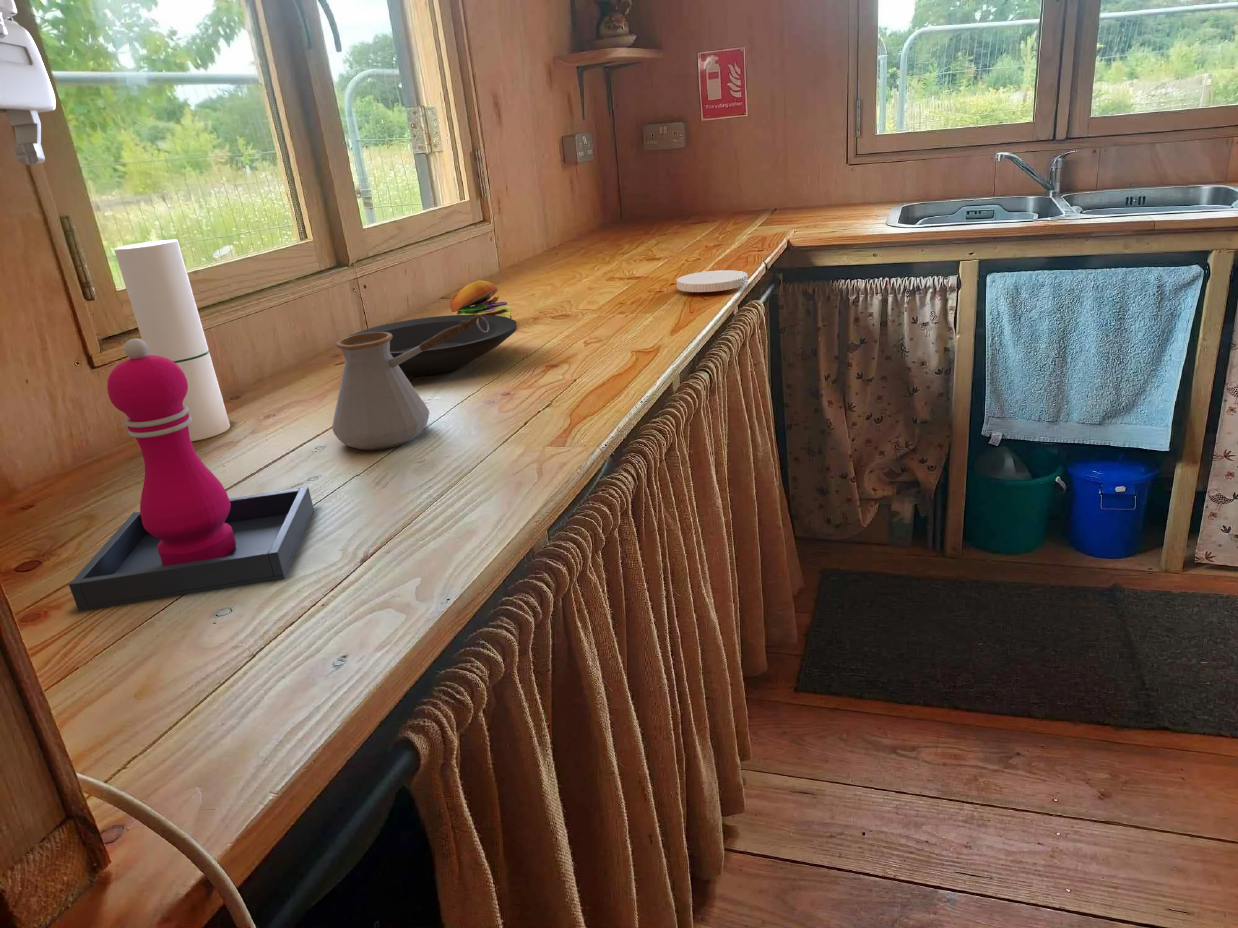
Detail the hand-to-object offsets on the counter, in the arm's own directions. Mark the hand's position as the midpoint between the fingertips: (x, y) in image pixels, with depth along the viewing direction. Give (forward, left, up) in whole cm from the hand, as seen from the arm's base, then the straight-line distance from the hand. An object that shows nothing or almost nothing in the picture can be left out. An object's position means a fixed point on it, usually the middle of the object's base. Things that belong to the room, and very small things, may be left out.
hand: (8, 166), depth 78 cm
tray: (+12, -14, -35) cm, 40 cm away
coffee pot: (+30, +11, -35) cm, 48 cm away
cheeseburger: (+38, +70, -35) cm, 87 cm away
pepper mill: (+11, -14, -34) cm, 39 cm away
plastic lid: (+84, +80, -35) cm, 121 cm away
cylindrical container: (0, +27, -35) cm, 45 cm away
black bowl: (+30, +47, -35) cm, 66 cm away
